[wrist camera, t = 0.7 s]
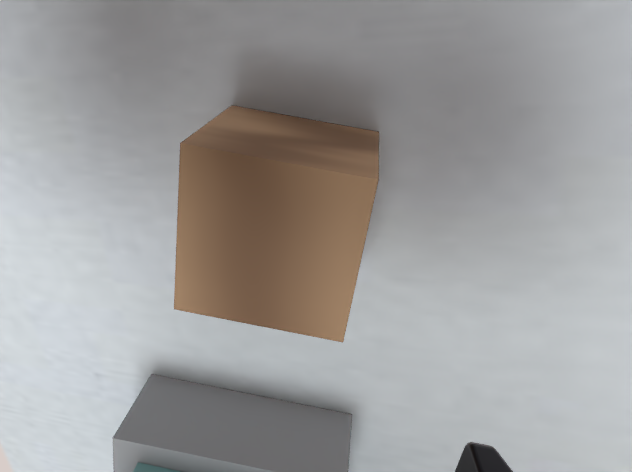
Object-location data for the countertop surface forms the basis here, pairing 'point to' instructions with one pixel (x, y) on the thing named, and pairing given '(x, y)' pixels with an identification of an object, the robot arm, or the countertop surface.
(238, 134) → the walnut cube
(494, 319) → the countertop surface
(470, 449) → the robot arm
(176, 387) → the slate block
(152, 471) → the teal block
